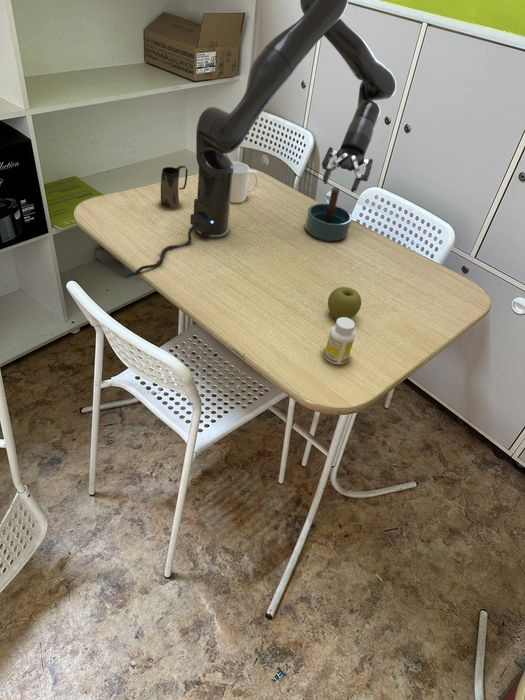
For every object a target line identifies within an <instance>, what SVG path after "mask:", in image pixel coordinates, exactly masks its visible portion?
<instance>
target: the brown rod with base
mask: <svg viewBox="0 0 525 700" xmlns="http://www.w3.org/2000/svg"><path fill="white" fill-rule="evenodd" d="M339 194H340V188H338V187H332V188H331V192H330V196H329V201H328V203H327V204H328V209H327V213H326V217H325V222H326V223H332V219H333V215H334V211H335V207H336V206H337V204H338V203H337V202H338V198H339Z"/></svg>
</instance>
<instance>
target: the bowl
mask: <svg viewBox="0 0 525 700" xmlns="http://www.w3.org/2000/svg"><path fill="white" fill-rule="evenodd" d="M328 204H329V203H316V204H313V205H311V206H310V207H309V208H308V210H307V215H306V220H305V224H304V228H305V231H306V232H307V233H309V234H310V235H311V236H312V237H314V238H316V239H318V240H321V241H325V242H336V241H341V240H343V239H345V238H346V237H347V236H348V234H349V230H350V228H351V227H350V226H351V223H352V215H351V212H349V211H348V210H346V209H345V208H342V207H341V206H338V205H336V207H335V211H334V215H333V219H332V223H326V222H325V217H326V213H327V209H328Z"/></svg>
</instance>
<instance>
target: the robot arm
mask: <svg viewBox="0 0 525 700" xmlns="http://www.w3.org/2000/svg"><path fill="white" fill-rule="evenodd" d="M299 4H300V8H301V12H302V13H303V15H302V16H301V17H300V18H299V19H298V20H297V21H296V22H295V23H293V24H292V25H290V26H289V27H287V28H286V29H284V30H283V31H281V32H280V33H279V34H277V35H275V37H273V38H272V39H271V40H270V41H269V42H268V43H267V44H266V45H265V46H264V48H262V50H261V51H260V52H259V54H258V55H257V56H256V58H255V59H254V60H253V61H252V64H251V65H250V68H249V72H248V78H247V82H246V88H245V92H244V94H243V96H242V98H241V100H240V101H239V103H238V104H237V105H236V107H234V109H232V111H231V112H227V111H225V110H223V109H221V108H219V107H216V106H209V107H207V108H206V109H204V110H203V111H202V112H201V114H200V116H199V117H198V120H197V124H196V131H195V132H196V134H195V139H196V140H195V141H196V146H195V147H196V148H195V149H196V150H195V152H196V153H195V156H196V157H195V158H196V163H197V165H198V176H197V178H198V179H197V195H196V196H197V197H196V198H194V200H193V213H191V214H190V220H189V221H190V222H189V224H190V225H191V227H190V228H189V230H188V232H187V238H188V240H187V241H186V242H185V243H184V244H180V245H178V244H177V245H169V246H166V247H165V248H163V250H162V251H161V253H160V257H159V260H158V261H157V262H155V263H154V264H146V265H141V266H140V267H139V268H138V269H136V271H135V272H134V273H133V276H138V275H139V273H140V272H141V271H143V270H146V269H152V268H156V267H158V266H160V265H161V264H162V262H163V260H164V255H165V254H166V252H167V251H169V250H172V249H173V250H174V249H178V248H182V247H183V248H184V247H187V246H188V245H190V243H191V242H192V232H193V231H194V232H195V233H198V234H199V235H200V236H201V237H203V238H204V239H217V238H218V239H219V238H223V237H224V236H226V235H227V234H228V232H229V217H230V210H231V209H230V207H231V202H230V199H231V189H232V179H233V164H232V162H233V161H232V160H231V159H230V157H229V156H228V154H231V153H234V151H235V150H237V149H238V148H239V147H240V145H241V144H242V143H243V142H244V140H245V138H246V137H247V136H248V134H249V132H250V131H251V130H252V128H253V126H254V125H255V123H256V122H257V120H258V118H259V117H260V115H261V114H262V113H263V111H264V110H265V109H266V107H267V106H268V104H269V103H270V102H271V100H272V99H273V98H274V97H275V96H276V94H277V93H278V92H279V91H280V89H282V87H283V86H284V85H285V83H287V81H288V80H289V78H290V77H291V76H292V75H293V73H294V72H295V71H296V69H297V68H298V67H299V65H300V64H301V63H302V62H303V61H304V59H305V58H306V56H307V55H308V54H310V52H311V51H312V49H313V48H314V47H315V45H317V43H319V41H320V40H321V39H322V38H324V37H325V39H326V40H327V41H328V42H329V43H330V44H331V45H332V46H333V48H334V49H335V50H336V51H337V53H338V54H339V55H340V56H341V58H342V59H343V61H344V62H345V64H346V65H347V67H348V68H349V70H350V71H351V72H352V74H353V75H354V77H355V78H356V79H357V80H359V81H361V82H360V84H359V89H358V99H357V107H356V109H355V113H354V114H353V118H352V120H351V122H350V123H349V126H348V128H347V130H346V133H345V136H344V137H343V141H342V143H341V145H340V148H339V149H338V150H335V149H333V147H331V146H330V147H328V149H327V151H326V153H325V155H324V158H323V160H322V162H321V167H322V170H325V171H324V174H323V176H322V181H323V184H324V185H328V182H329V179H330V176H331V174H332V172H334V171H335V170H338V169H339V168H341V170H347V171H349V172H352V171H353V172H354V175H355V177H354V181H353V183H352V186H351V189H350V192H351V193H354V192H356V191H358V188H359V186H360V183H361V182H368V180H369V177H370V174H371V172H372V169H373V163H374V159H373V158H369V159H367V158H365V156H366V153H367V150H368V148H369V146H370V143H371V141H372V138H373V135H374V132H375V128H376V125H377V123H378V121H379V117H380V115H381V107H380V106H379V104H377V103H376V102H374V101H381V100H388V99H390V98H392V97H393V96H394V95H395V93H396V91H397V82H396V78H395V76H394V75H393V73H392V72H391V70H389V68H387V67H386V66H385V65H384V64H383V63H381V62H380V61H379V60H377V59H376V57H375V55H374V53H373V52H372V50H371V48H370V47H369V46H368V44H367V43H366V41H365V40H364V39H363V37H361V36H360V35H359V34H357V32H355V30H353V29H352V28H351V27H349V25H348V24H347V23H345V22H344V20H343V19H342V17H343V15H344V14H345V12H346V10H347V7H348V4H349V0H299ZM335 156H336V159H334V160H333V161H332V162H331V163H330V161H331V159H333V158H334V157H335ZM362 165H364V168H365V171H364V174H362V173H361V170H360V167H361V166H362Z"/></svg>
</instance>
